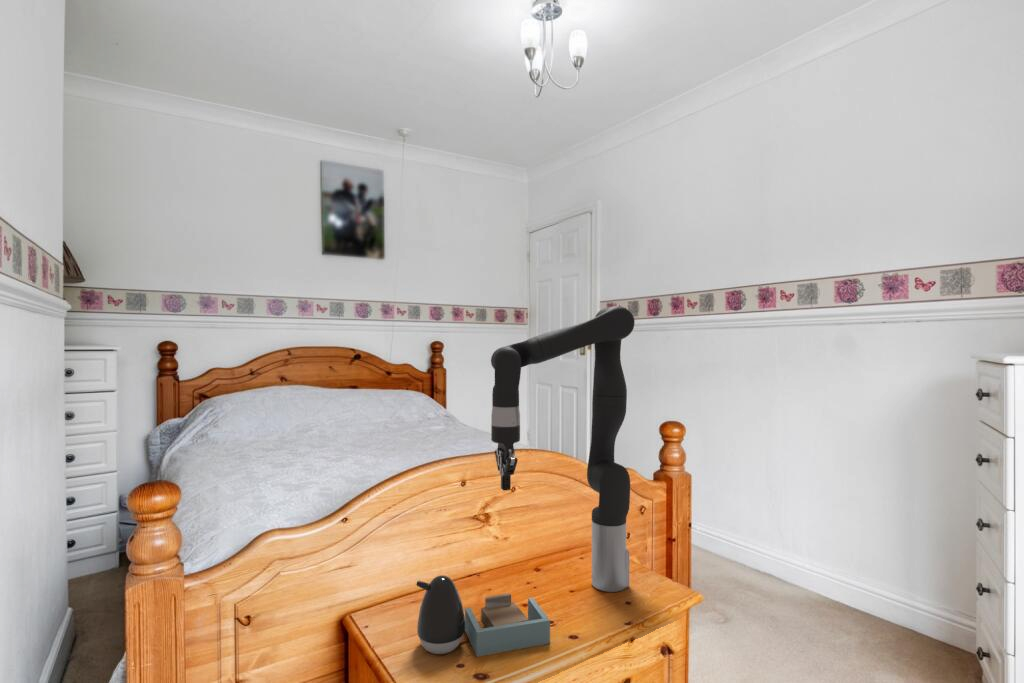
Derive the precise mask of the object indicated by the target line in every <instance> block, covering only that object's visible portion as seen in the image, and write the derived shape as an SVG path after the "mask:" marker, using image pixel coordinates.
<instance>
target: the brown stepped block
mask: <svg viewBox="0 0 1024 683" xmlns="http://www.w3.org/2000/svg"><path fill="white" fill-rule="evenodd" d="M480 621H481V623H482V625H483V628H488V627H494V626H500V625H506V624H512V623H518V622H525V621H529V619H528V616H526V615H525V613H524V612H523V610H521V609H520V607H519V606H518V605H517V604H516V602H514V601H512V594H511V593H510V592H508V593H503V594H502V593H501V594H498V595H492V596H491V595H490V596H486V597H485V598H484V606H483V607H481V608H480Z"/></svg>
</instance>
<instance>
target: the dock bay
mask: <svg viewBox="0 0 1024 683" xmlns="http://www.w3.org/2000/svg"><path fill="white" fill-rule="evenodd" d="M464 618H465V633H466V635H467V638H468V640H469V642H470V645H471V647H472V650H473V651H474V653H475V655H476V657H483V656H489V655H492V654H498V653H503V652H509V651H514V650H520V649H526V648H531V647H536V646H537V647H538V646H543V645H548V644H551V619H550V618H549V617H548V616H547V614H546V613H545V612H544V610H543V609H542V608H541V606H540V605H539V604H538V603H537V601H536V600H535V598H533V597H527V618H528V619H529V621H525V622H518V623H512V624H506V625H500V626H494V627H488V628H484V627H482V628H481V626H480V624H479V621H478V619H477V617H476V615H475V614H474V612H473V610H472V608H471V606H469V607H465V608H464Z"/></svg>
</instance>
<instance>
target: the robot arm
mask: <svg viewBox="0 0 1024 683" xmlns="http://www.w3.org/2000/svg"><path fill="white" fill-rule="evenodd" d="M635 325H636V324H635V317H634V315H633V313H632V311H630V309H628V308H626V307H623V306H619V305H617V306H616V305H614V306H608V307H605V308H602V309H600V310H599V311H598V312H597V313H596V315H595V316H594V317H593V318H591V319H588V320H587V321H584V322H582V323H578V324H574V325H570V326H567V327H562V328H558V329H554V330H552V331H548V332H545V333H542V334H539V335H536V336H533V337H531V338H529V339H525V340H524V341H521V342H515V343H511V344H508V345H506V346H502V347H500V348H497V349H495V351H494V352H493V353H492V355H491V358H490V363H491V366H492V368H493V369H494V385H493V388H492V392H491V394H492V397H491V398H492V400H491V402H492V404H491V406H492V407H491V422H490V423H491V428H490V429H491V430H490V432H491V439H490V440H491V442H492V443H495V444H497V448H496V449H495V450H494V456H495V459H496V461H495V462H496V465H497V467H496V468H497V471H498V472H499V475H500V488H501V490H502V491H504V492H505V491H510V490H511V489H512V488H511V486H512V485H511V479H512V478H511V476H513V475H515V474H514V473H515V471H516V467H517V465H518V457H515V456H516V450H515V448H514V447H515V446H514V444H515V443H519V442H520V441H521V413H520V391H519V390H520V388H519V387H520V382H521V381H520V380H521V373H522V368H523V367H526V366H529V365H535V364H536V365H537V364H540V363H544V362H546V361H549V360H552V359H553V360H554V359H555V358H558V357H560V356H562V355H566V354H568V353H571V352H573V351H577V350H579V349H582V348H584V347H588V346H591V345H594V366H593V368H594V369H593V383H592V398H591V400H592V402H591V403H592V404H591V405H592V406H591V408H592V409H591V410H592V411H591V412H592V413H591V414H592V415H591V433H590V434H591V437H590V447H589V454H588V455H589V456H588V462H587V468H586V470H587V471H586V479H587V483H588V485H589V487H590V488H591V489H592V490H593V491H595V492H596V493H597V494H599V495H598V506H596V507H594V508H593V509H592V510H591V585H592V586H593V587H594V588H595V589H597V590H598V591H602V592H607V593H608V592H609V593H615V592H621V591H623V590H625V589H626V588H629V587H630V550H628V549H627V516H628V514H629V511H630V501H631V478H630V474H629V472H628V470H627V468H625V466H624V465H622V464H620V463H617V462H615V443H616V439H617V436H618V434H619V431H620V429H621V427H622V425H623V423H624V420H625V418H626V413H627V401H628V400H627V398H628V397H627V396H628V390H627V384H626V379H625V374H624V369H623V366H622V361H621V348H622V347H621V346H622V340H623V339H626V338H627V337H628V336H630V334H632V332H633V330H634V328H635Z"/></svg>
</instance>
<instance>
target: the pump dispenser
mask: <svg viewBox="0 0 1024 683" xmlns="http://www.w3.org/2000/svg"><path fill="white" fill-rule="evenodd" d="M415 585H416V586H417V587H419V588H421V589H423V590H425V592H424V594H423V597H422V600H421V604H420V607H419V612H418V617H417V618H418V620H417V629H416V630H417V631H416V632H417V633H416V634H417V636H418V637H419V641H420V643H421V646H422V648H424V649H425V650H426V651H427V652H429V653H431V654H434V655H444V654H449V653H450V652H453V651H454V650H455V649H457V647H459V645H460V644H461V642H462V639H463V636H464V634H465V633H466V631H465V610H464V607H463V602H462V599H461V596H460V594H459V590H458V589H457V587H456V584H455V583H454V581H453V579H451V577H449V576H447V575H437V576H435V577H434V578H432V579H431V581H430V583H429V582H425V581H421V580H417V581H416V583H415Z"/></svg>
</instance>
